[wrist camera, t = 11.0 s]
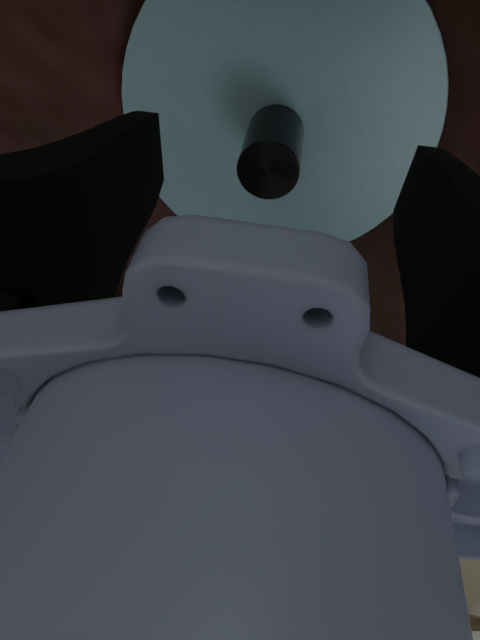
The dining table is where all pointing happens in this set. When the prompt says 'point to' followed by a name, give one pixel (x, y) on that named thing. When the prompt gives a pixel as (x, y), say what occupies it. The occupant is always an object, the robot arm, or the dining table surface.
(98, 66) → the dining table surface
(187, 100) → the pot lid
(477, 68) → the dining table surface
